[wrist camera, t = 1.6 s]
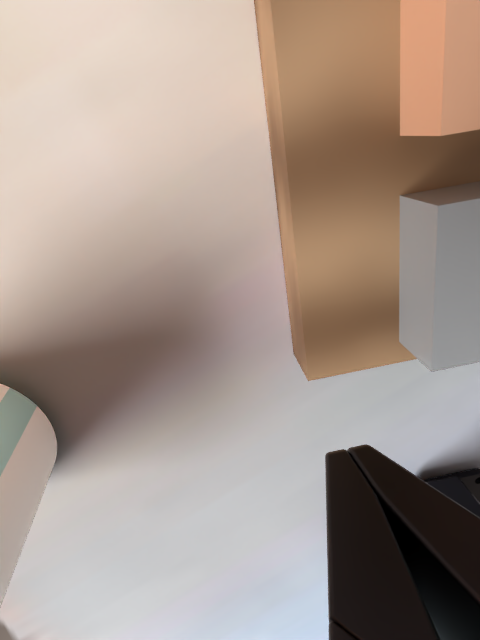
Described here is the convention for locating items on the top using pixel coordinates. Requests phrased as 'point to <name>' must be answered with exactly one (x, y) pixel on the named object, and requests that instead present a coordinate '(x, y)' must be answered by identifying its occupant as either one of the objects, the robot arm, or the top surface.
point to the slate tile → (440, 275)
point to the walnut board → (345, 174)
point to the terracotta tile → (439, 67)
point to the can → (21, 473)
